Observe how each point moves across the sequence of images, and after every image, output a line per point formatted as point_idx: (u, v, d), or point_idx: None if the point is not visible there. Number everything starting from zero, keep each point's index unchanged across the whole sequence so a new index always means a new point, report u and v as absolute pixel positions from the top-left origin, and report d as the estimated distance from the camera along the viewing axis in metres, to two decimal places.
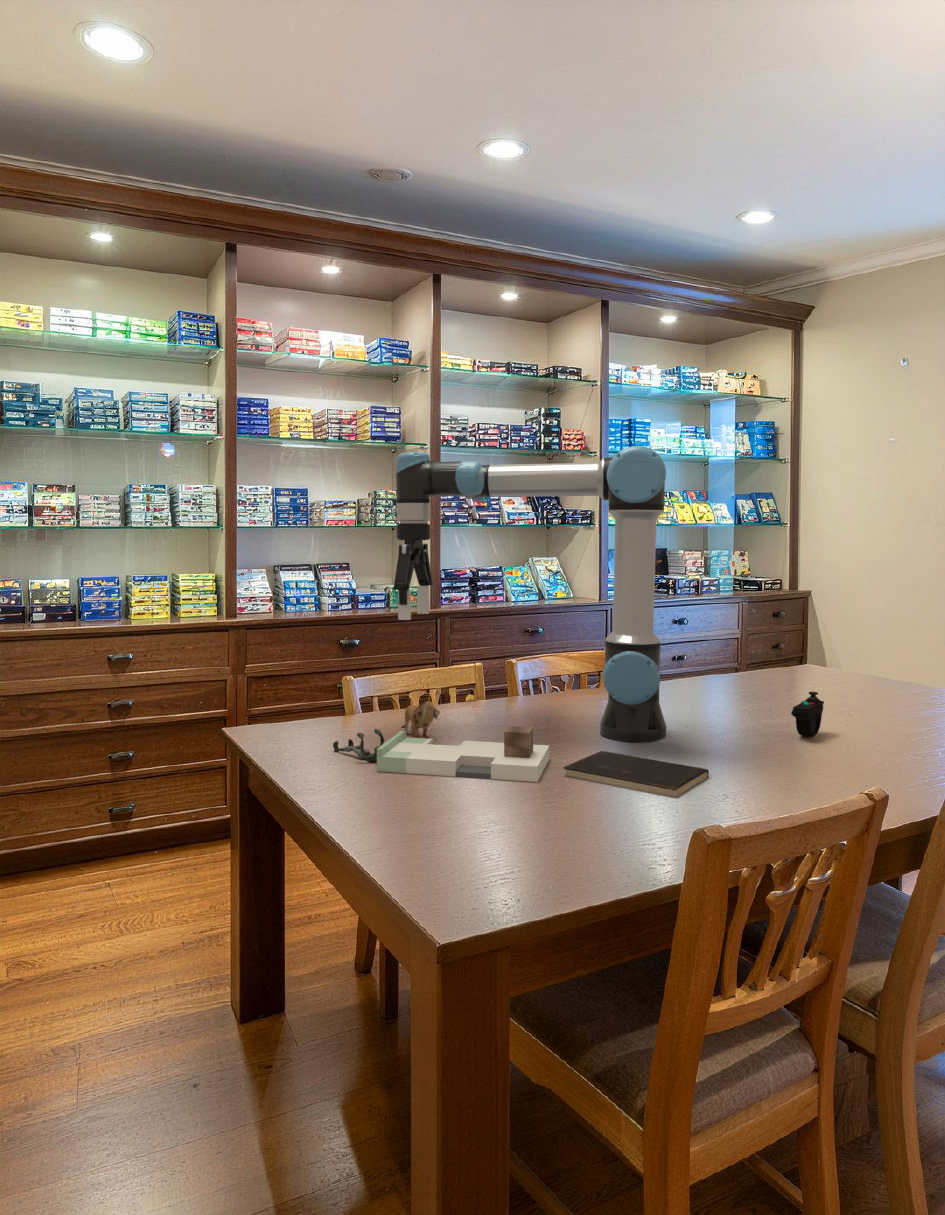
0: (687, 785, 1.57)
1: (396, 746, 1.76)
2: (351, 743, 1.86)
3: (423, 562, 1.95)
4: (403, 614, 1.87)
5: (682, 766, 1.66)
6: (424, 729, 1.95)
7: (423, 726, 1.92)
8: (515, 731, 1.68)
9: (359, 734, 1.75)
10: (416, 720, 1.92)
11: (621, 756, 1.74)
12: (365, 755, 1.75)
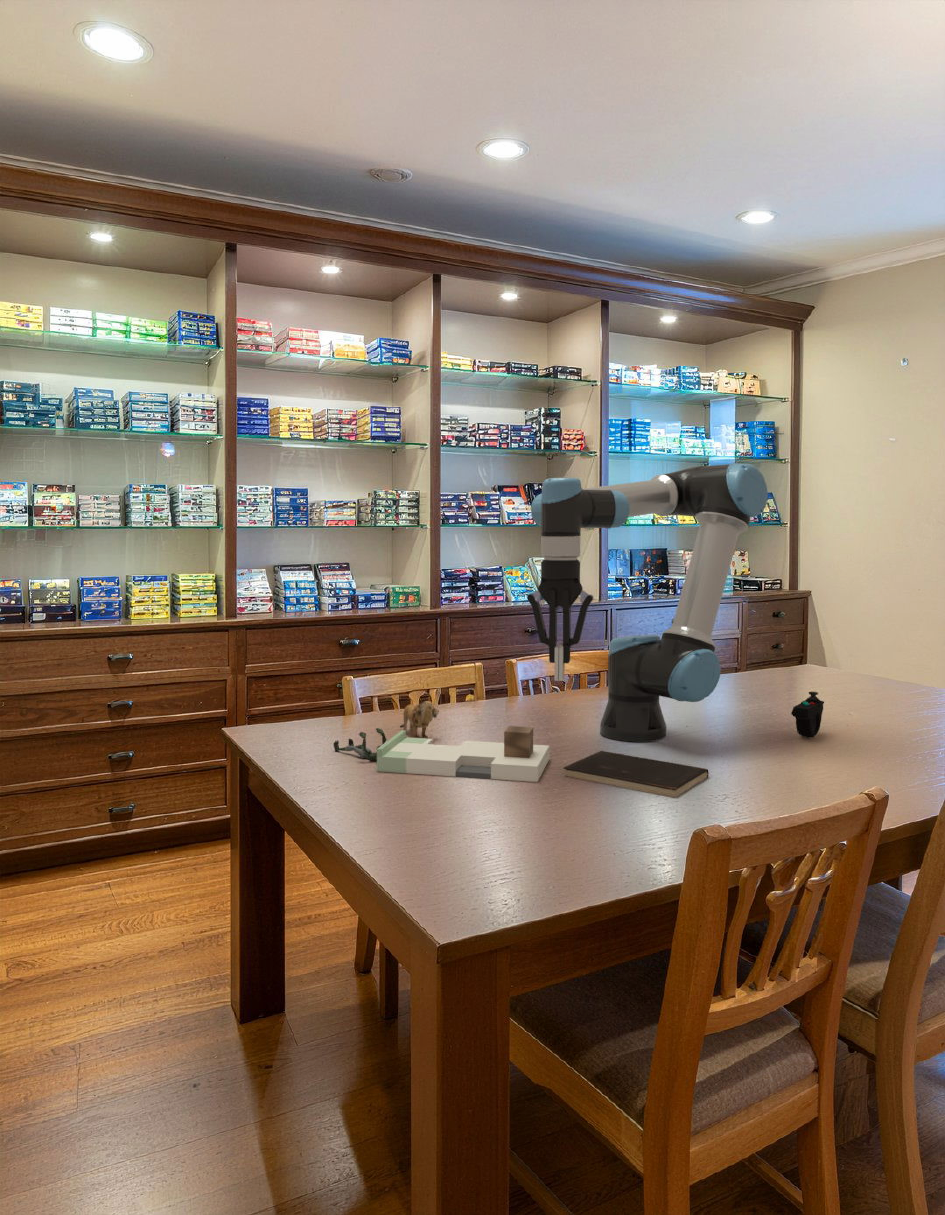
0: (687, 785, 1.57)
1: (396, 746, 1.76)
2: (351, 742, 1.86)
3: None
4: None
5: (682, 766, 1.66)
6: (423, 728, 1.96)
7: (422, 725, 1.93)
8: (515, 731, 1.68)
9: (361, 733, 1.76)
10: (416, 719, 1.93)
11: (621, 756, 1.73)
12: (367, 754, 1.75)
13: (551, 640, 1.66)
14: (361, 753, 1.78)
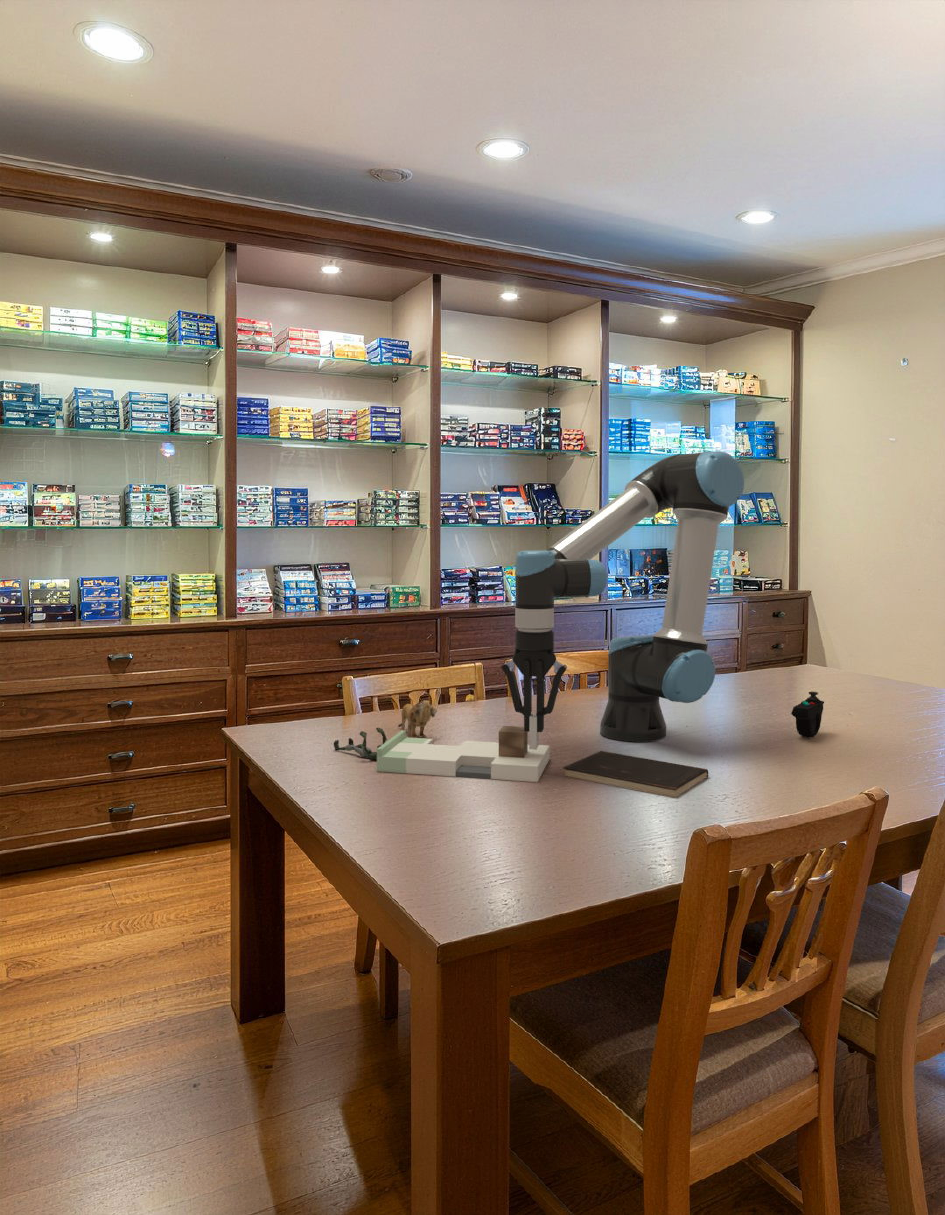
0: (687, 785, 1.57)
1: (396, 746, 1.76)
2: (351, 742, 1.87)
3: None
4: None
5: (682, 766, 1.66)
6: (421, 727, 1.96)
7: (420, 724, 1.94)
8: (509, 731, 1.68)
9: (361, 733, 1.76)
10: (414, 718, 1.93)
11: (621, 756, 1.73)
12: (368, 753, 1.76)
13: (526, 709, 1.68)
14: (361, 752, 1.79)
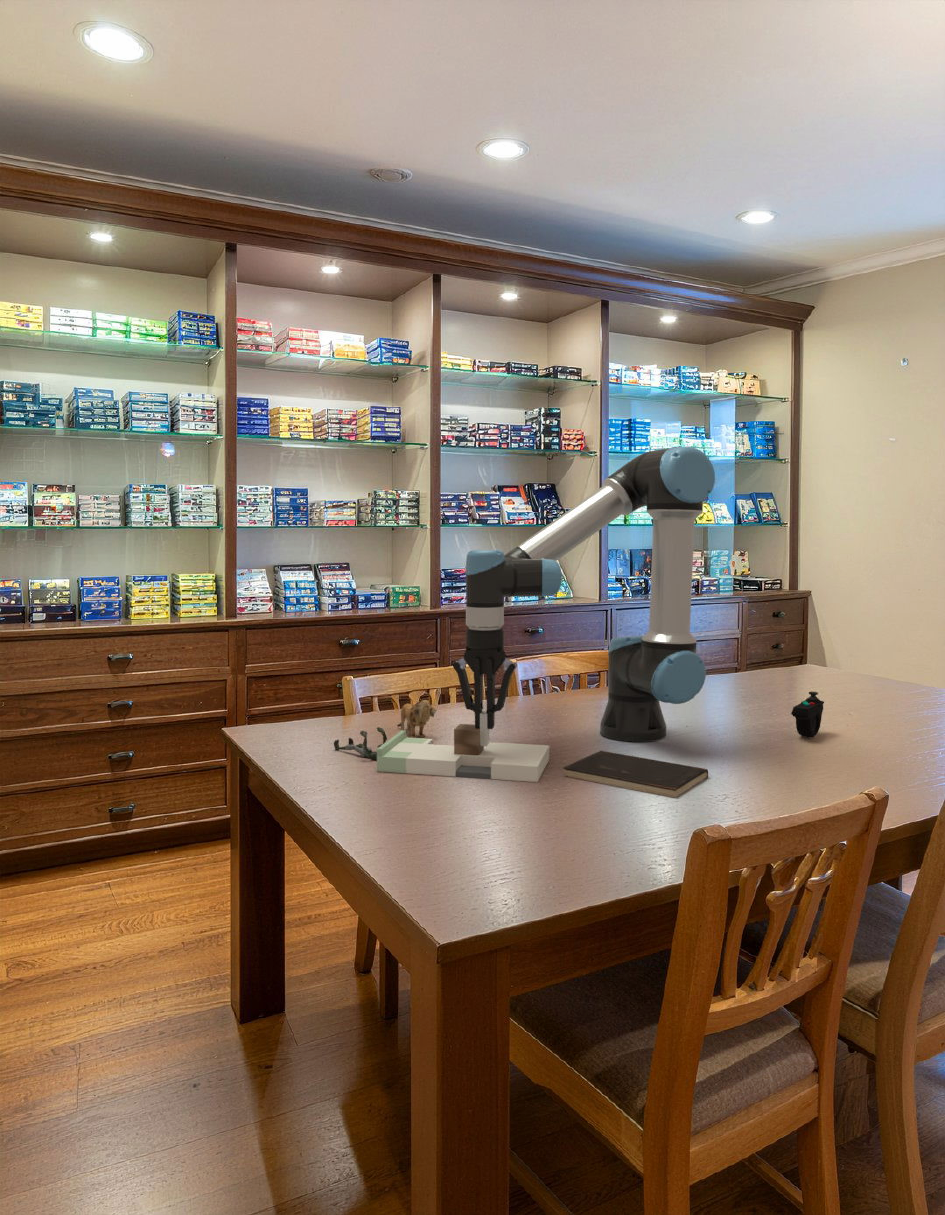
0: (687, 785, 1.57)
1: (396, 746, 1.76)
2: (351, 742, 1.87)
3: None
4: None
5: (682, 766, 1.66)
6: (420, 727, 1.97)
7: (420, 724, 1.94)
8: (465, 729, 1.70)
9: (362, 732, 1.77)
10: (413, 718, 1.94)
11: (620, 756, 1.73)
12: (368, 753, 1.76)
13: (476, 707, 1.70)
14: (362, 752, 1.79)
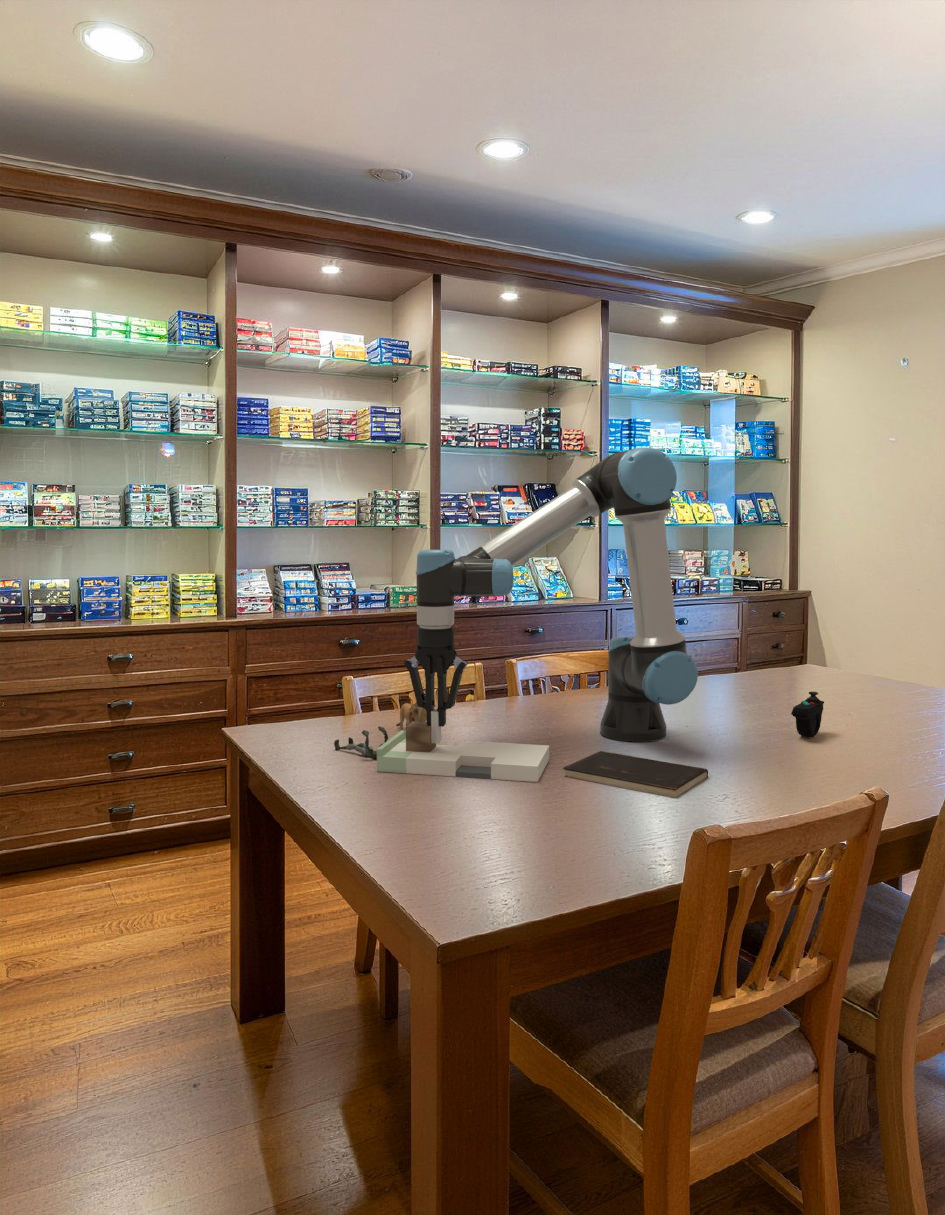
0: (687, 785, 1.57)
1: (396, 746, 1.76)
2: (351, 741, 1.88)
3: None
4: None
5: (681, 766, 1.66)
6: None
7: None
8: (416, 726, 1.73)
9: (364, 732, 1.77)
10: (412, 717, 1.94)
11: (620, 756, 1.73)
12: (370, 752, 1.77)
13: (428, 704, 1.72)
14: (363, 751, 1.80)
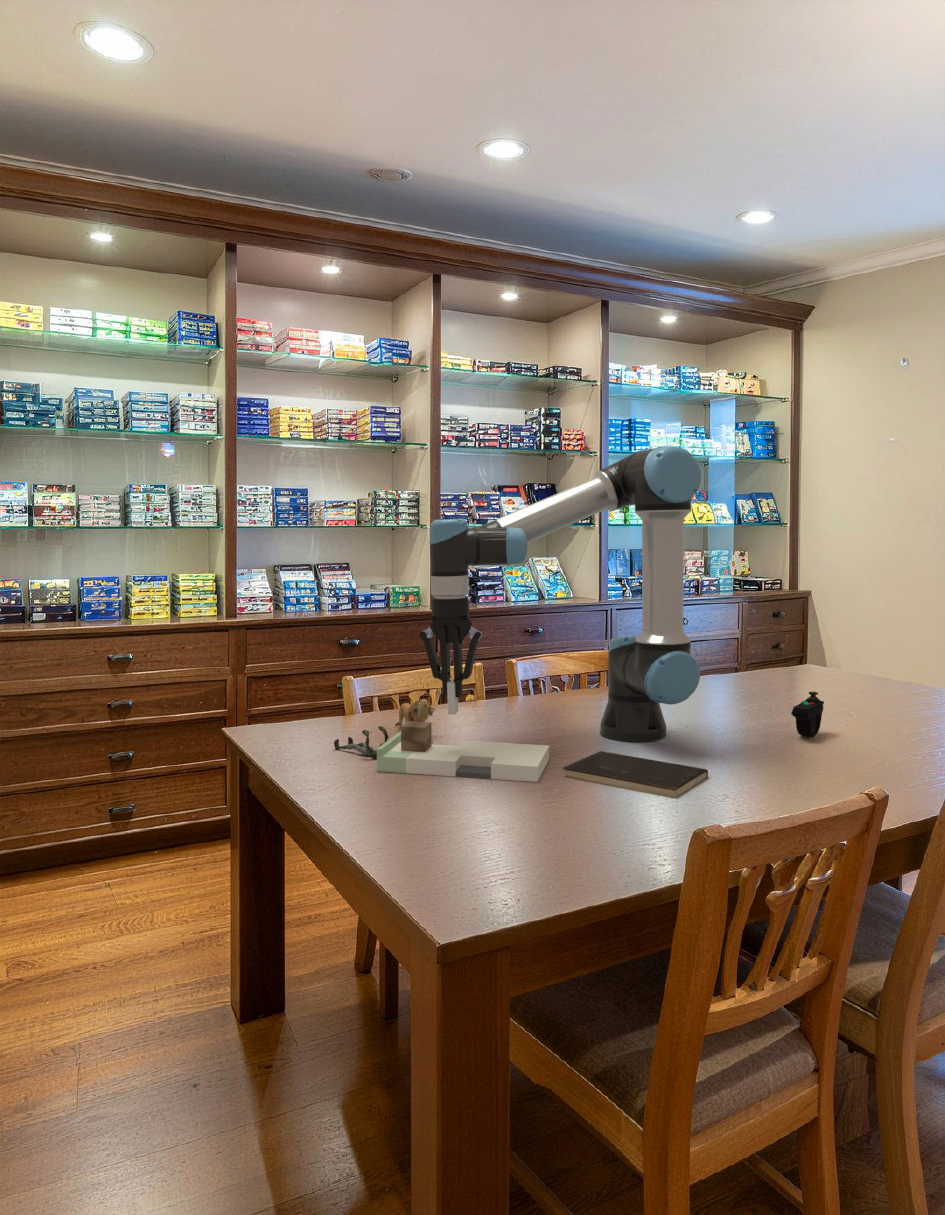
0: (687, 785, 1.57)
1: (396, 746, 1.76)
2: (351, 741, 1.88)
3: None
4: None
5: (681, 766, 1.66)
6: None
7: None
8: (412, 726, 1.73)
9: (364, 731, 1.78)
10: (412, 717, 1.95)
11: (620, 756, 1.73)
12: (371, 752, 1.77)
13: (443, 675, 1.71)
14: (363, 751, 1.80)
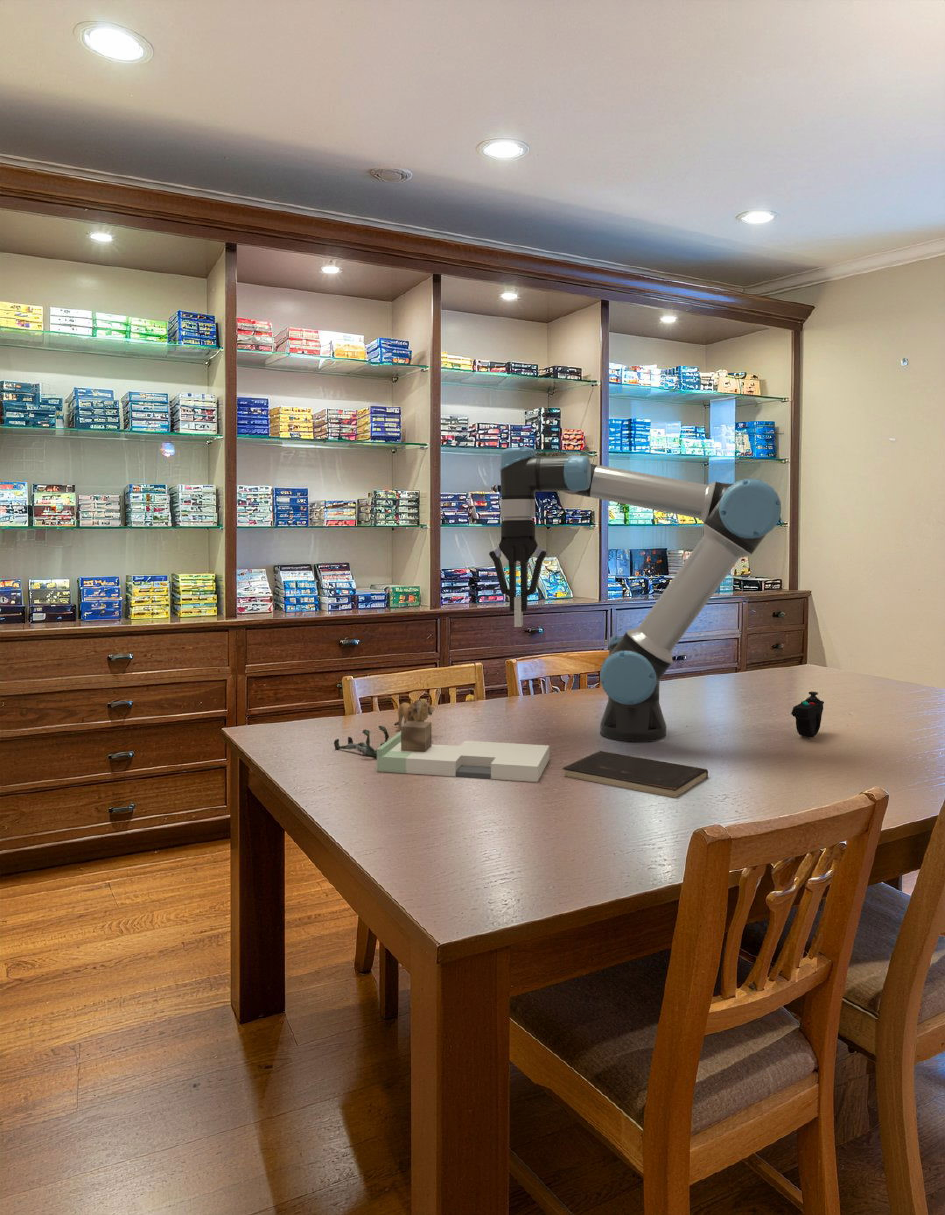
0: (687, 785, 1.57)
1: (396, 746, 1.76)
2: (350, 741, 1.88)
3: (520, 562, 1.87)
4: None
5: (681, 766, 1.66)
6: None
7: None
8: (412, 726, 1.73)
9: (365, 731, 1.78)
10: (411, 717, 1.95)
11: (620, 756, 1.73)
12: (371, 751, 1.78)
13: (511, 591, 1.88)
14: (364, 750, 1.80)
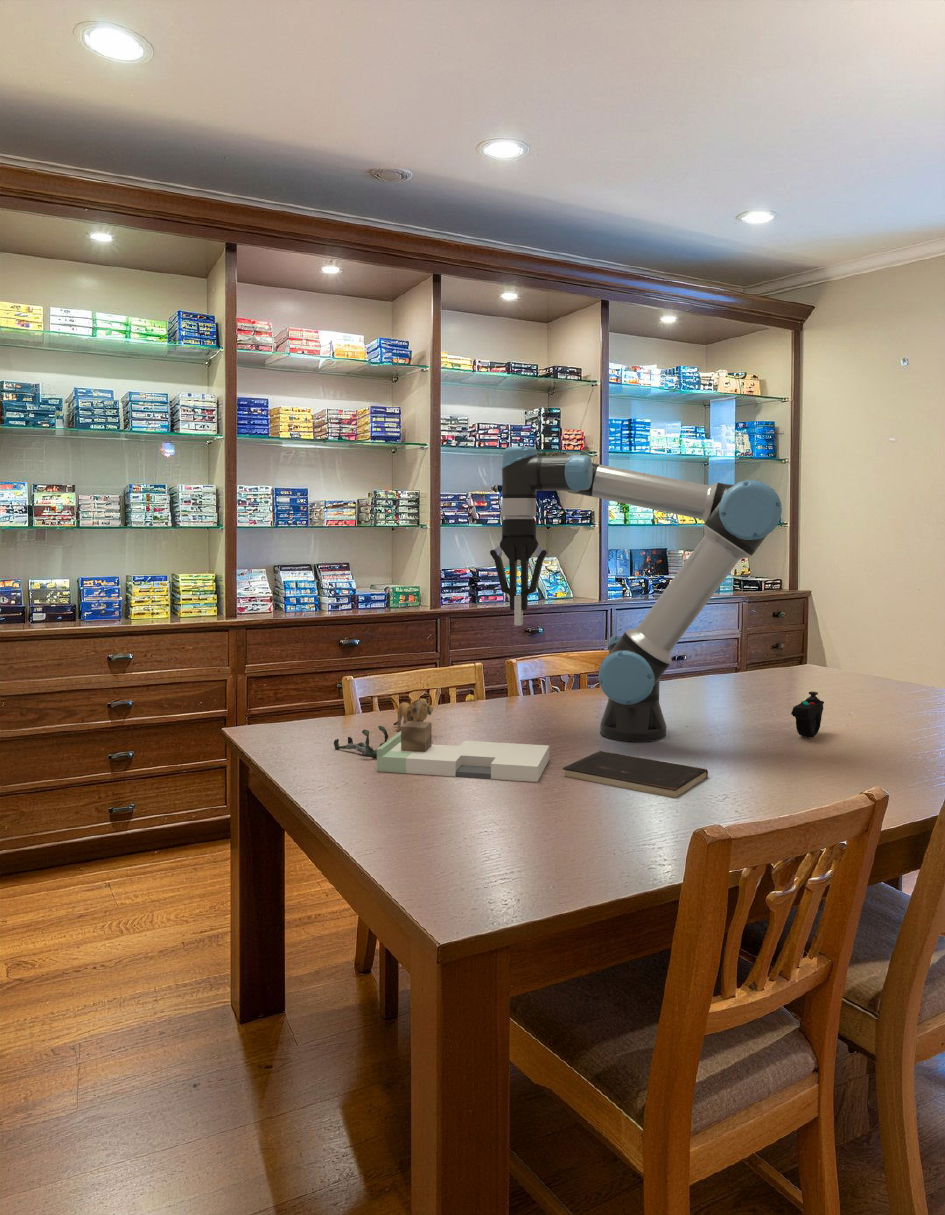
0: (687, 785, 1.57)
1: (396, 746, 1.76)
2: (350, 741, 1.88)
3: None
4: None
5: (681, 766, 1.66)
6: None
7: None
8: (412, 726, 1.73)
9: (364, 731, 1.78)
10: (411, 716, 1.95)
11: (620, 756, 1.73)
12: (371, 751, 1.77)
13: (511, 589, 1.89)
14: (363, 751, 1.80)
